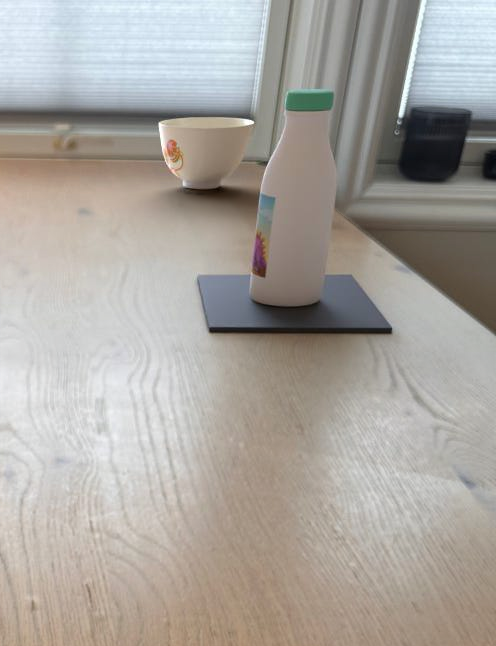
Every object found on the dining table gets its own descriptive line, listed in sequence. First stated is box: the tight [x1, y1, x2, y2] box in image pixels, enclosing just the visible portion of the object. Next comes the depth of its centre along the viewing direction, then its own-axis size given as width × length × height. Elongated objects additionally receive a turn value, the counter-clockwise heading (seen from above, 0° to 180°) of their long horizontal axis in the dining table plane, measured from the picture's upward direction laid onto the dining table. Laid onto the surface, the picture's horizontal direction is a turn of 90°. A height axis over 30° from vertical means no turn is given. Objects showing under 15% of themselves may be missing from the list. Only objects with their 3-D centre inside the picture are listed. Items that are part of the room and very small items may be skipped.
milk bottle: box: [250, 88, 338, 306], centre depth 101 cm, size 8×8×20 cm
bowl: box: [158, 116, 255, 190], centre depth 169 cm, size 16×16×10 cm
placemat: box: [196, 274, 393, 334], centre depth 107 cm, size 22×18×1 cm
